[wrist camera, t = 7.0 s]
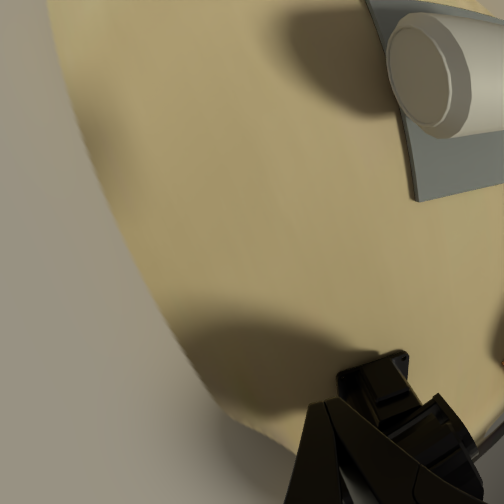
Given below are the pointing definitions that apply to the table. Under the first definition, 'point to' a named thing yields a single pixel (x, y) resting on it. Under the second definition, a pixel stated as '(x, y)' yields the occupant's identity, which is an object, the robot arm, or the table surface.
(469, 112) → the can
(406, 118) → the mat
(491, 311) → the table surface
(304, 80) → the table surface
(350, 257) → the table surface
